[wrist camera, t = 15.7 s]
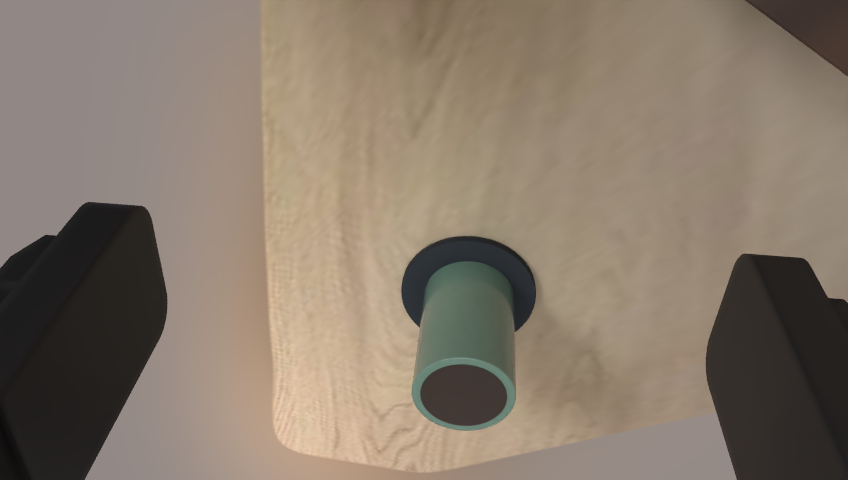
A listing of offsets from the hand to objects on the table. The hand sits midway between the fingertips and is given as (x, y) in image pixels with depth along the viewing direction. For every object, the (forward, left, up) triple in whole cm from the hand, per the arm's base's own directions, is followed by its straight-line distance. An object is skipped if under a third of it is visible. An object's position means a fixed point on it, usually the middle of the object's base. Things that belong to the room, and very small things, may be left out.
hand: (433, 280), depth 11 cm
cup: (+14, -22, -31) cm, 41 cm away
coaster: (+14, -22, -32) cm, 41 cm away
